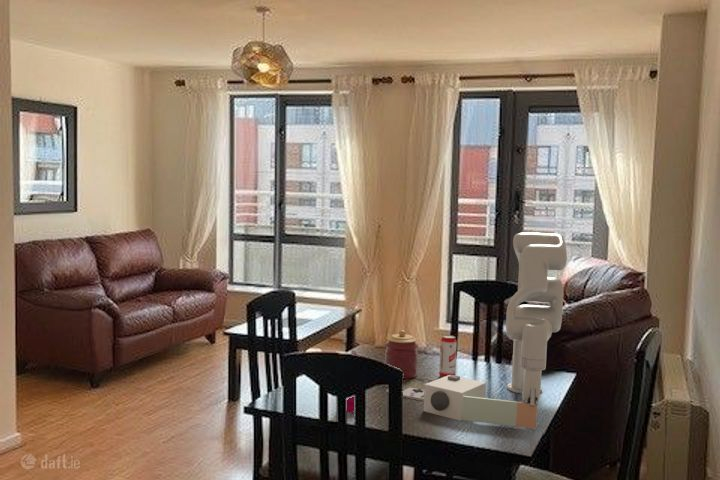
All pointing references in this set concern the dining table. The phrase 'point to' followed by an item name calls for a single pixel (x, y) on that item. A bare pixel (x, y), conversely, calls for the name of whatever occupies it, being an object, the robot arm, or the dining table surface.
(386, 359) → the canister
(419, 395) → the handheld gaming console
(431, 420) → the dining table surface
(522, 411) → the side door
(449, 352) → the beer can
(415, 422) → the dining table surface
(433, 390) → the block
